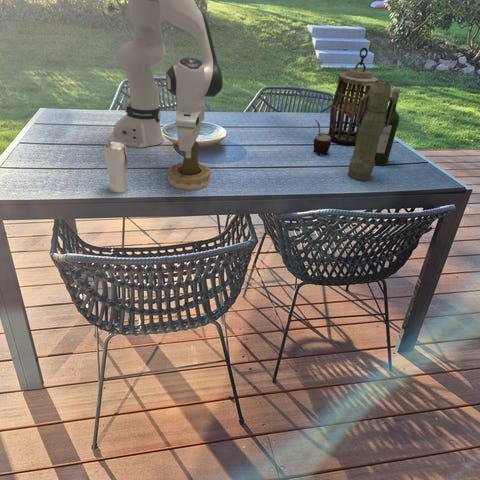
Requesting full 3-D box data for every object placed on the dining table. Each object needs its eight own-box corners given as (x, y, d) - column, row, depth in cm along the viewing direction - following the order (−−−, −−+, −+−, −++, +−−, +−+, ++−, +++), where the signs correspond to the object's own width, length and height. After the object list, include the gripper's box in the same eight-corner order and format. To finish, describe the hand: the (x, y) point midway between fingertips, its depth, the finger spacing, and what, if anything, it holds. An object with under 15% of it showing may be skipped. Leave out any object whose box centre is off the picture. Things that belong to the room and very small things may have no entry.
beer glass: (109, 183, 144) (105, 140, 136) (131, 184, 145) (128, 141, 137) (106, 193, 138) (101, 149, 130) (128, 194, 139) (125, 149, 131)
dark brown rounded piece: (196, 176, 146) (196, 145, 140) (179, 173, 147) (179, 142, 141) (201, 169, 151) (202, 139, 145) (185, 167, 152) (185, 137, 146)
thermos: (340, 171, 168) (360, 78, 149) (368, 171, 170) (391, 79, 151) (348, 181, 161) (371, 84, 142) (377, 181, 163) (403, 86, 144)
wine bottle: (387, 160, 182) (407, 88, 166) (386, 167, 175) (407, 92, 159) (368, 157, 184) (386, 84, 167) (366, 163, 177) (385, 89, 161)
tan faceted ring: (164, 187, 145) (164, 176, 143) (174, 170, 157) (173, 160, 155) (205, 191, 144) (206, 181, 142) (212, 175, 156) (212, 164, 154)
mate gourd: (330, 152, 185) (337, 118, 177) (325, 158, 179) (332, 122, 171) (313, 148, 187) (319, 114, 179) (308, 154, 181) (314, 119, 173)
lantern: (319, 142, 195) (337, 47, 174) (328, 130, 211) (345, 41, 189) (362, 150, 190) (386, 53, 168) (368, 138, 205) (390, 47, 184)
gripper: (187, 103, 147) (187, 142, 154) (173, 122, 130) (174, 164, 137) (205, 105, 146) (204, 144, 154) (194, 124, 129) (194, 166, 137)
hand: (190, 154), depth 145 cm, fingers closed on dark brown rounded piece, 4 cm apart
